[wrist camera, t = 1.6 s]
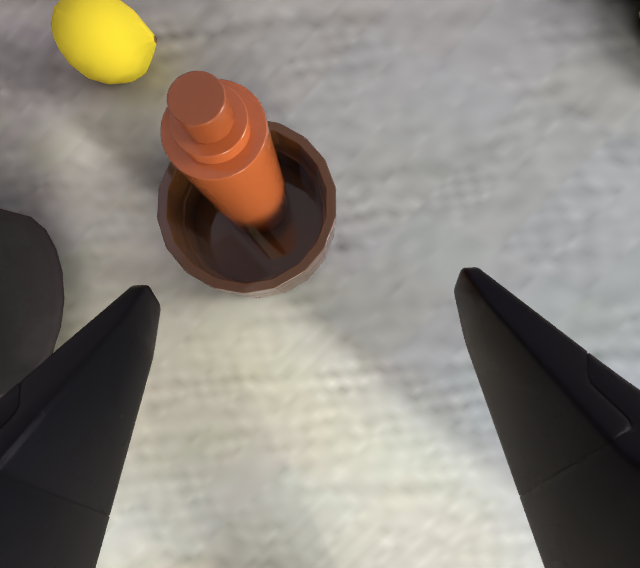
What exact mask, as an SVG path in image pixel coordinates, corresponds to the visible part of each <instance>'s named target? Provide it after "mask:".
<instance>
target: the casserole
mask: <svg viewBox="0 0 640 568" xmlns="http://www.w3.org/2000/svg"><path fill="white" fill-rule="evenodd" d="M63 306H64V287H63V273H62V269H61V265H60V261H59V258H58V254H57V250H56V248H55V246H54V244H53V242H52V240H51V238H50V236H49V235H48V233H47V231H46V230H45V229H44V228H43V227H42V226H41V225H40V224H38V223H37V222H36V221H35V220H34V219H33V218H31V217H29V216H25V215H21V214H18V213H14V212H10V211H6V210H3V209H0V398H1V397H2V396H3V395H5V394H6V393H7V392H8V391H9V390H10V389H12V388H13V387H14V386H15V385H16V384H17V383H21V380H22V379H23V378H25V377H26V376H27V375H28V374H29V373H30V372H32V371H33V370H34V369H35V368H36V367H38V366H39V365H40V364H41V363H42V362H43V361H45V360H46V359H47V358H48V357H49V356H50V355H51V354H52V353H53V350H54V347H55V343H56V340H57V337H58V334H59V331H60V327H61V321H62V313H63Z"/></svg>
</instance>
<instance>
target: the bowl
mask: <svg viewBox="0 0 640 568" xmlns="http://www.w3.org/2000/svg"><path fill="white" fill-rule="evenodd" d="M267 122H268V126H269V129H270V133H271V136H272V140H273V143H274V147H275V150H276V154H277V157H278V161H279V164H280V168H281V171H282V175H283V178H284V182H285V185H286V189H287V192H288V196H289V207H288V211H287V214H286V216H285V218H284V219H283V221H282V222H281V223H280V224H279V225H278V226H277V227H276V228H275V229H273V230H271V231H269V232H267V233H263V234H256V235H255V234H247V233H244V232H241V231H239V230H238V229H236V228H235V227H234V226H232V225H231V224H230V222H229V221H228V220H227V219H226V218H225V217H224V216H223V215H222V214H221V213H220V212H219V211H218V210H217V209H216V208H215V207H214V206H213V205H212V204H211V203H210V202H209V201H208V200H207V199H206V198H205V197H204V195H203V194H202V193H201V192H200V191H199V190H198V189H197V188H196V187H195V186H194V185H193V184H192V183H191V182H190V181H189V180H188V179H187V178H186V177H185V176H184V175H183V174H182V173H181V172H180V171H179V170H178V168H177V167H176V166H175V165H174V164H173V163H172V162H171V161H170V164H169V166H168V168H167V171H166V173H165V175H164V178H163V180H162V182H161V185H160V187H159V195H158V213H157V218H158V223H159V226H160V229H161V232H162V235H163V238H164V242H165V245H166V247H167V249H168V250H169V252H170V253H171V254H172V255H173V257H174V258H175V259H176V260H177V262H178V263H179V264H180V265H181V267H182V268H183V269H184V270H185V271H186V272H187V273H188V274H190V275H192V276H193V277H195V278H197V279H199V280H200V281H202V282H204V283H205V284H207V285H209V286H210V287H212V288H215V289H219V290H222V291H225V292H229V293H232V294H238V295H243V296H249V297H255V298H257V297H258V298H260V297H266V296H271V295H277V294H283V293H286V292H287V291H289V290H291V289H293V288H294V287H296V286H298V285H300V284H301V283H303V282H305V281H307V280H308V279H309V278H310V276H311V275H312V274H313V273H314V272H315V271H316V269H317V268H318V267H319V266H320V265H321V264H322V262H323V261H324V260H325V258H326V255H327V253H328V250H329V247H330V244H331V242H332V239H333V236H334V230H335V222H336V188H335V184H334V182H333V179H332V177H331V174H330V171H329V169H328V166H327V163H326V161H325V159H324V158H323V157H322V156H321V155H320V153H319V152H318V151H317V150H316V149H315V148H314V147H313V145H312V144H311V143H310V142H309V141H308V140H307V139H306V138H305V137H304V136H302V135H300V134H298V133H296V132H295V131H293V130H291V129H289V128H287V127H285V126H284V125H282V124H280V123H276V122H270V121H267Z"/></svg>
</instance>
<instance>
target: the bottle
mask: <svg viewBox="0 0 640 568" xmlns="http://www.w3.org/2000/svg"><path fill="white" fill-rule="evenodd" d="M167 105H168V107H167V108H166V110H165V113H164V115H163V118H162V122H161V140H162V145H163V148H164V150H165V153H166V155H167V156H168V158H169V159H170V161H171V162H172V163H173V164H174V165H175V166H176V167H177V168H178V170H179V171H180V172H181V173H182V174H183V175H184V176H185V177H186V178H187V179H188V180H189V181H190V182H191V183H192V184H193V185H194V186H195V187H196V188H197V189H198V190H199V191H200V192H201V193H202V194H203V195H204V197H205V198H206V199H207V200H208V201H209V202H210V203H211V204H212V205H213V206H214V207H215V208H216V209H217V210H218V211H219V212H220V213H221V214H222V215H223V216H224V217H225V218H226V219H227V220H228V221H229V222H230V224H231V225H232V226H234V227H235V228H236V229H238V230H239V231H241V232H244V233H247V234H255V235H256V234H263V233H267V232H269V231H271V230H273V229H275V228H276V227H277V226H278V225H279V224H280V223H281V222H282V221H283V219H284V218H285V216H286V214H287V211H288V207H289V196H288V192H287V189H286V185H285V182H284V178H283V175H282V171H281V168H280V164H279V161H278V157H277V154H276V150H275V147H274V143H273V140H272V136H271V133H270V129H269V126H268V122H267V119H266V115H265V112H264V109H263V107H262V105H261V103H260V102H259V101H258V99H257V98H256V97H255V96H254V95H253V93H251V92H250V91H249V90H248V89H246V88H245V87H243V86H242V85H239V84H237V83H235V82H232V81H228V80H223V79H217V78H216V77H215V76H213V75H212V74H210V73H207V72H203V71H191V72H188V73H185V74H183V75H181V76H179V77H178V78H177V79H176V80H175V81H174V82H173V83H172V85H171V86H170V88H169V91H168V94H167Z"/></svg>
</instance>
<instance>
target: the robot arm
mask: <svg viewBox="0 0 640 568" xmlns="http://www.w3.org/2000/svg"><path fill="white" fill-rule="evenodd" d="M454 294H455V299H456V304H457V308H458V313H459V317H460V322H461V326H462V331H463V335H464V339H465V343H466V346H467V349H468V352H469V355H470V357H471V360H472V363H473V366H474V369H475V371H476V374H477V377H478V380H479V383H480V386H481V388H482V391H483V394H484V397H485V400H486V403H487V405H488V408H489V411H490V414H491V417H492V420H493V422H494V425H495V428H496V431H497V434H498V437H499V439H500V442H501V445H502V448H503V451H504V454H505V456H506V459H507V462H508V465H509V468H510V470H511V473H512V476H513V479H514V482H515V485H516V487H517V490H518V493H519V495H520V499H521V502H522V505H523V508H524V511H525V513H526V516H527V519H528V522H529V525H530V528H531V530H532V533H533V536H534V539H535V542H536V545H537V547H538V550H539V553H540V556H541V559H542V562H543V564H544V567H545V568H640V390H639V389H638V388H636V387H635V386H633V385H632V384H631V383H629V382H628V381H626V380H625V379H623V378H622V377H621V376H619V375H618V374H617V373H615V372H614V371H613V370H611V369H610V368H609V367H607V366H606V365H604V364H603V363H602V362H601V361H599V360H598V359H597V358H595V357H594V356H593V355H591V354H590V353H588V354H587V351H586V350H585V349H583V348H582V347H581V346H580V345H578V344H577V343H576V342H574V341H573V340H572V339H570V338H569V337H568V336H567V335H565V334H564V333H563V332H561V331H560V330H559V329H557V328H556V327H555V326H553V325H552V324H551V323H550V322H548V321H547V320H546V319H544V318H543V317H542V316H540V315H539V314H538V313H537V312H535V311H534V310H533V309H531V308H530V307H529V306H527V305H526V304H525V303H524V302H522V301H521V300H520V299H518V298H517V297H516V296H514V295H513V294H512V293H511V292H509V291H508V290H507V289H505V288H504V287H503V286H501V285H500V284H499V283H497V282H496V281H495V280H494V279H492V278H491V277H490V276H488V275H487V274H486V273H484V272H483V271H482V270H481V269H479V268H476V267H472V268H463V269H462V270H461V272H460V274H459V277H458V280H457V282H456V285H455V289H454ZM159 316H160V304H159V302H158V300H157V298H156V297H155V295H154V293H153V292H152V290H151V288H150V287H149V286H147V285H135V286H132V287H130V288H129V289H128V290H127V291H125V292H124V293H123V294H122V295H121V296H120V297H118V298H117V299H116V300H115V301H114V302H113V303H111V304H110V305H109V306H108V307H107V308H106V309H104V310H103V311H102V312H101V313H100V314H98V315H97V316H96V317H95V318H94V319H93V320H91V321H90V322H89V323H88V324H87V325H86V326H84V327H83V328H82V329H81V330H80V331H79V332H77V333H76V334H75V335H74V336H73V337H72V338H70V339H69V340H68V341H67V342H66V343H64V344H63V345H62V346H61V347H60V348H59V349H57V350H56V351H55V352H54V353H53V354H52V355H50V356H49V357H48V358H47V359H46V360H45V361H43V362H42V363H41V364H40V365H39V366H38V367H36V368H35V369H34V370H33V371H32V372H30V373H29V374H28V375H27V376H26V377H25V378H23V379H22V380H21V383H17V384H16V385H15V386H14V387H13V388H12V389H10V390H9V391H8V392H7V393H6V394H5V395H3V396H2V397H1V398H0V568H96V564H97V560H98V557H99V553H100V549H101V546H102V542H103V539H104V535H105V531H106V528H107V524H108V520H109V515H110V512H111V509H112V505H113V501H114V498H115V494H116V491H117V487H118V483H119V480H120V476H121V472H122V469H123V465H124V462H125V458H126V454H127V451H128V447H129V443H130V440H131V436H132V433H133V429H134V425H135V422H136V418H137V414H138V411H139V407H140V404H141V400H142V396H143V393H144V389H145V385H146V382H147V378H148V375H149V371H150V367H151V364H152V360H153V355H154V350H155V343H156V336H157V330H158V323H159Z"/></svg>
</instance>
